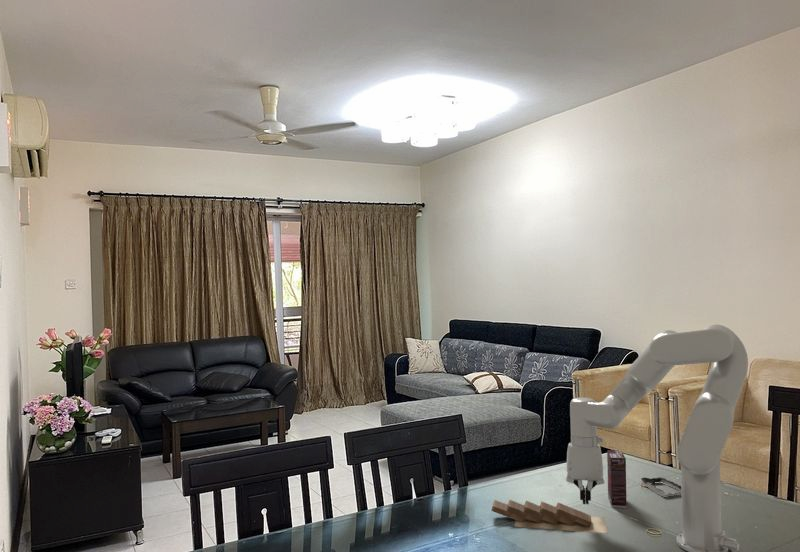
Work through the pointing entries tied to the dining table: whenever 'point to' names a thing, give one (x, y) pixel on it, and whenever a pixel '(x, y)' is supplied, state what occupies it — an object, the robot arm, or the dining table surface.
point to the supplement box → (616, 478)
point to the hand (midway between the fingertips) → (585, 502)
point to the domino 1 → (505, 511)
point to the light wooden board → (567, 525)
